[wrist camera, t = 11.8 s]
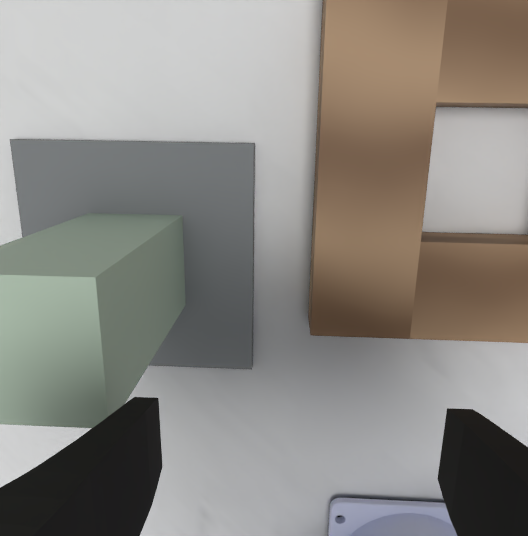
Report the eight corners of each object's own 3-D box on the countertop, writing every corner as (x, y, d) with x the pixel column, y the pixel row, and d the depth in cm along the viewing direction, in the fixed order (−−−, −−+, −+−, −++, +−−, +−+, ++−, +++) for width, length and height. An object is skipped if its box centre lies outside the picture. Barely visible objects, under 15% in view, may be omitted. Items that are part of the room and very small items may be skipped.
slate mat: (252, 365, 21) (251, 369, 21) (43, 357, 22) (38, 361, 21) (254, 143, 18) (253, 143, 18) (15, 139, 19) (9, 139, 19)
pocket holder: (605, 326, 20) (640, 346, 18) (308, 316, 20) (310, 335, 18) (685, -8, 16) (738, -28, 14) (323, -9, 17) (327, -28, 15)
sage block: (185, 304, 20) (109, 428, 11) (96, 302, 20) (-45, 422, 12) (182, 215, 19) (95, 277, 10) (88, 213, 19) (-74, 272, 11)
